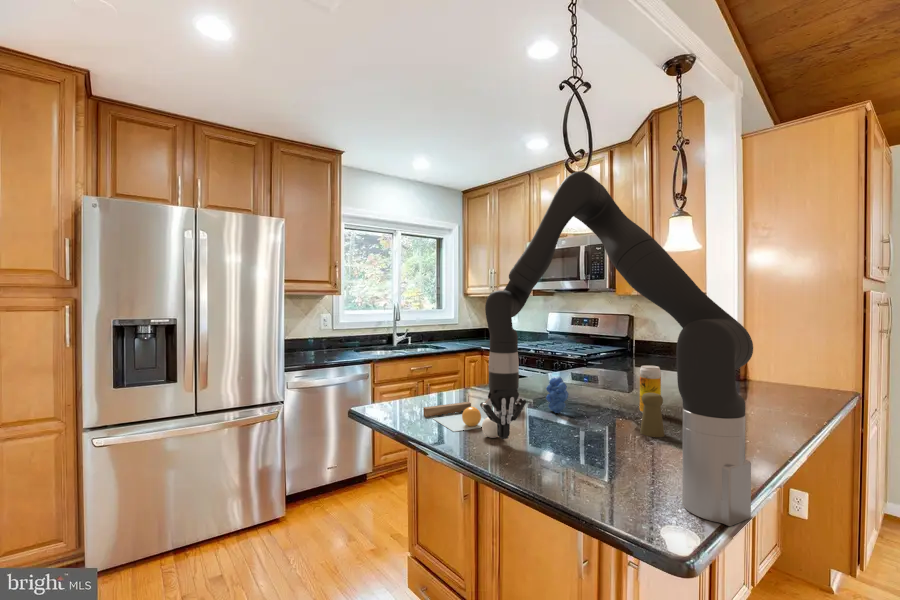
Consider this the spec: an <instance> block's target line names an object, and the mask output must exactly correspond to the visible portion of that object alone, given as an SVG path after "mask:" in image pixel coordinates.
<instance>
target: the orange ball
mask: <svg viewBox="0 0 900 600" xmlns="http://www.w3.org/2000/svg"><path fill="white" fill-rule="evenodd" d="M461 414H462V420H463V422H464V423H465V424H466V425H467V426H470V427H473V426H476V425H478V424H479V422H480V421H481V417H482V414H481V411H480V410H479V409H478V408H477V407H475V406H471V407H468V408H466V409H465V410H464V411H463V412H462V413H461Z"/></svg>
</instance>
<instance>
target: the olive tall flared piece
mask: <svg viewBox="0 0 900 600" xmlns="http://www.w3.org/2000/svg"><path fill="white" fill-rule="evenodd" d="M642 402H643V404H644V409H643V414H642V418H641V424H640V431H639V433H640V434H641V435H644V436H646V437H649V438H663V437H665V429H664V428H665V427H664V420H663V414H662V405H664V404H663V403H664V398H663V396H662V394H661V395H659V394H657V393H645V394H643V396H642Z"/></svg>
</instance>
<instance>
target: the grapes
mask: <svg viewBox="0 0 900 600" xmlns="http://www.w3.org/2000/svg"><path fill="white" fill-rule="evenodd" d="M567 388H568V386H567V384H566V383H565V382H564V380H563V378H561V376H556V377H552V378H551V379H550V380H549V382H548V385H547V386H546V387H545V390H546V391H547V393H548V394H547V395H546V396H545V400H546V401H547V402H548V405H547V408H548V409H549V410H550V411H552V412H554V413H555V414H556V413H558V414H559V413H561V412H562V411H564V410H565V408H566V407H567V404H566V401H567V400H568V399H569V392H568V391H567Z"/></svg>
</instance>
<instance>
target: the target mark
mask: <svg viewBox="0 0 900 600" xmlns="http://www.w3.org/2000/svg"><path fill="white" fill-rule="evenodd" d="M462 414H463V413H461V414H455V415H447V416H440V417H433V418H432V419H433V420H434V421H435V422H437V423H439V424H440V425H442V426H444V427H445V428H446V429H448V430H450V431H451V432H452V433H456V432H464V431H470V430H475V429H482V428H481V427H482V423H483V421H484V420H485V419H486V418H484V417H483V416H481V421H480V422H479V424H478V425H476V426H473V427H470V426H467V425H466V424H465V423H464V422H463V420H462ZM463 430H464V431H463Z"/></svg>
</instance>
